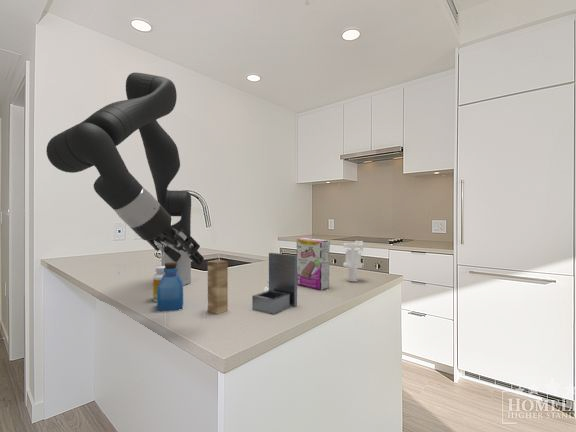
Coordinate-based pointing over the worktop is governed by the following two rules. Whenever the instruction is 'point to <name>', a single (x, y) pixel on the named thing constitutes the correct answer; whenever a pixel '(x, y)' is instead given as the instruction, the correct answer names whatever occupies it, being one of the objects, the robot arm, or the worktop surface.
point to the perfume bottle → (170, 289)
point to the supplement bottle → (157, 280)
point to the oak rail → (217, 286)
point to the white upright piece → (353, 259)
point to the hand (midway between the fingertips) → (189, 260)
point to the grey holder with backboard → (279, 285)
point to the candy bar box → (313, 263)
